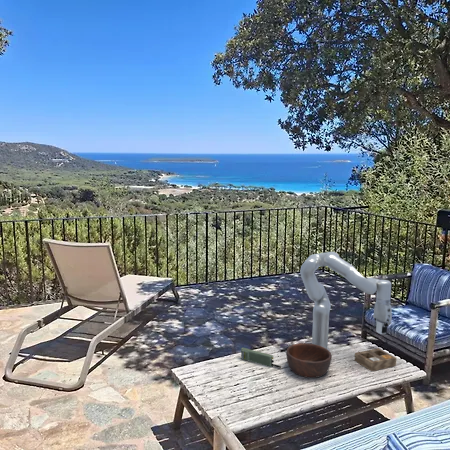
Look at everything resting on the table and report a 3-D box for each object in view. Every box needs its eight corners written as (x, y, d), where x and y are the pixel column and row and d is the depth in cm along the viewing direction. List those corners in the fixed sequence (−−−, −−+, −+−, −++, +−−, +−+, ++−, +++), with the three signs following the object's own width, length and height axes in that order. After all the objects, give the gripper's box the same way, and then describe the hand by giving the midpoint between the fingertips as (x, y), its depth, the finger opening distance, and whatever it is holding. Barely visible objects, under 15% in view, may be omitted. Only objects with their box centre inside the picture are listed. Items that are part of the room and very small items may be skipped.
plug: (381, 334, 236) (381, 321, 235) (375, 331, 240) (376, 318, 239) (386, 333, 238) (387, 320, 237) (381, 330, 241) (382, 317, 240)
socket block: (371, 371, 228) (372, 362, 227) (354, 360, 241) (355, 352, 240) (395, 366, 235) (396, 357, 234) (378, 355, 248) (378, 347, 247)
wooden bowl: (319, 385, 212) (320, 367, 211) (277, 371, 227) (278, 353, 226) (337, 367, 232) (338, 350, 230) (298, 355, 247) (298, 339, 245)
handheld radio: (243, 357, 243) (282, 367, 231) (240, 359, 241) (279, 370, 228) (243, 346, 242) (282, 356, 230) (240, 349, 239) (279, 359, 227)
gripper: (399, 304, 230) (397, 335, 232) (377, 296, 245) (375, 325, 248) (389, 306, 227) (386, 337, 230) (367, 297, 242) (366, 327, 245)
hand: (381, 331), depth 239 cm, fingers closed on plug, 4 cm apart
